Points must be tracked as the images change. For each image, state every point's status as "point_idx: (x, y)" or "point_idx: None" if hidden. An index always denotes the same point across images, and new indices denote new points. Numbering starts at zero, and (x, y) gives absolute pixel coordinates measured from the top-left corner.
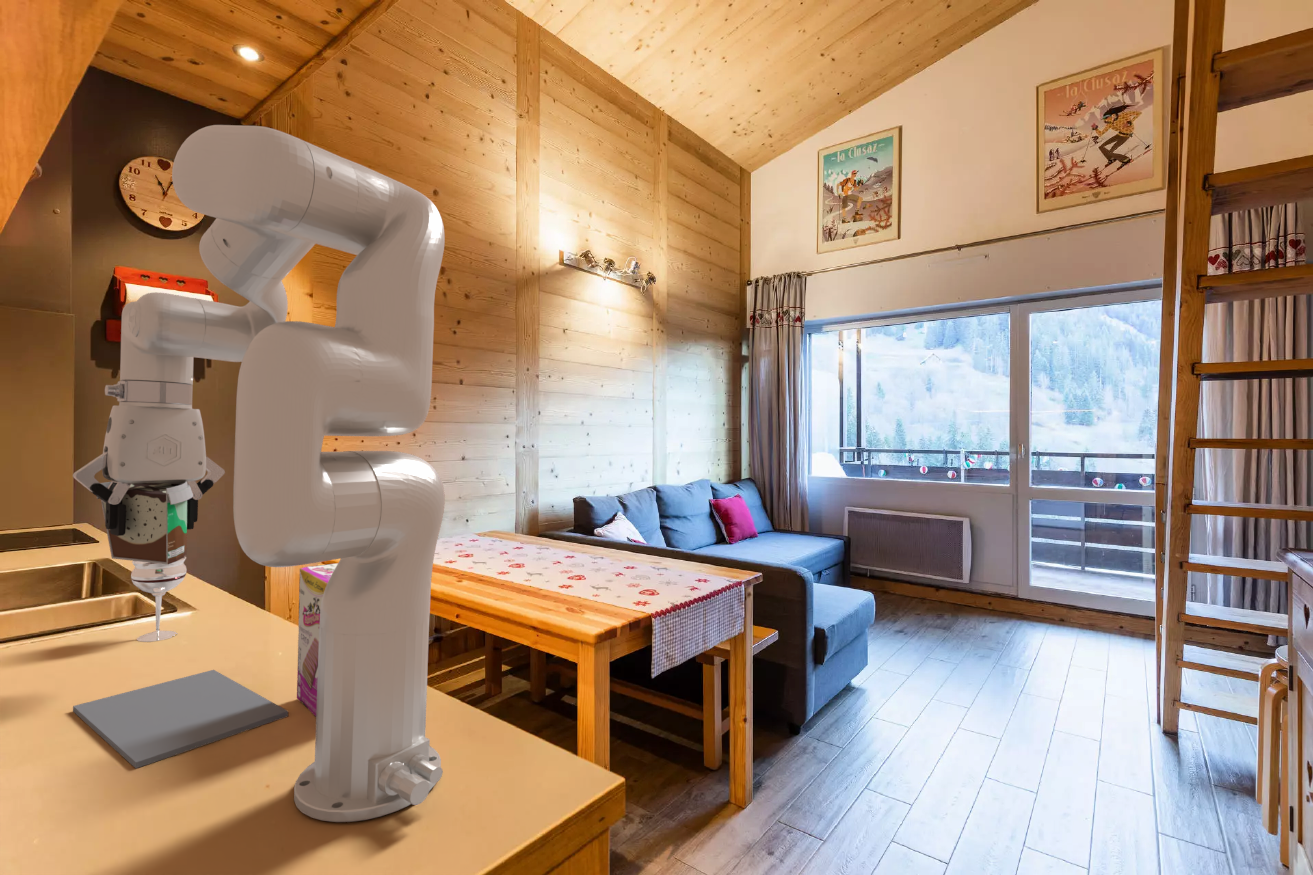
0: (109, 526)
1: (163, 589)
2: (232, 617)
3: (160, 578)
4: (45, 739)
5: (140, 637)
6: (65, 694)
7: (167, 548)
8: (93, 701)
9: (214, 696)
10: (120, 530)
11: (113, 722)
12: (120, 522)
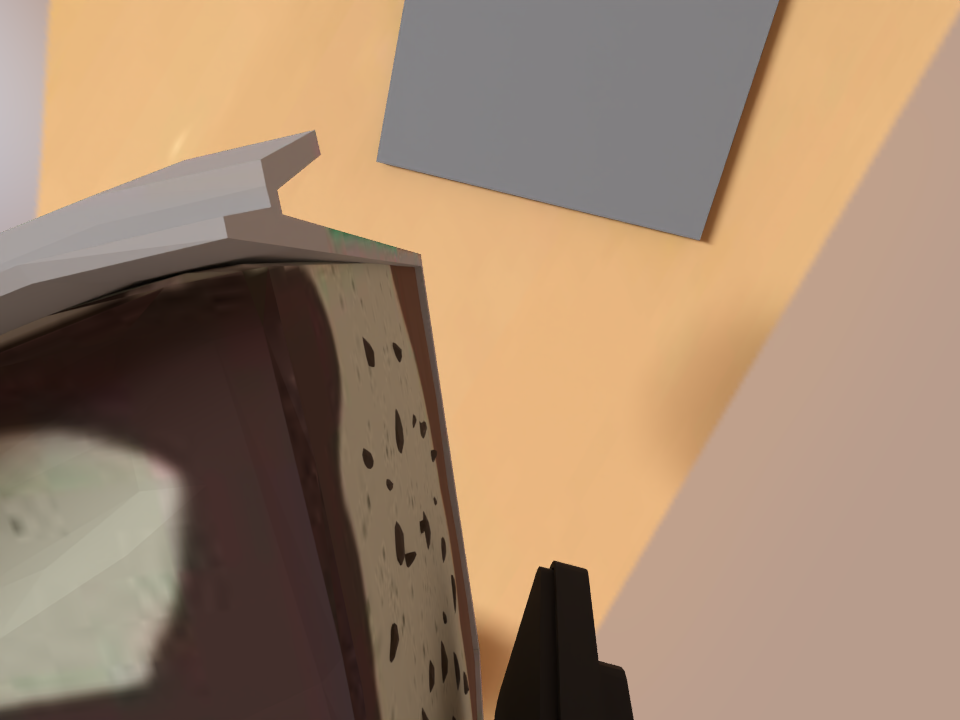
0: (623, 671)
1: None
2: None
3: None
4: (831, 110)
5: None
6: (633, 374)
7: (411, 252)
8: (661, 224)
9: None
10: (576, 586)
11: (736, 13)
12: (586, 630)
